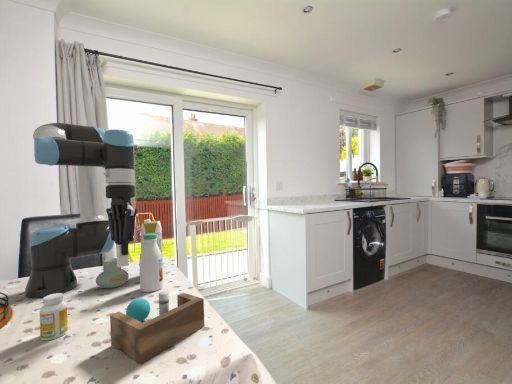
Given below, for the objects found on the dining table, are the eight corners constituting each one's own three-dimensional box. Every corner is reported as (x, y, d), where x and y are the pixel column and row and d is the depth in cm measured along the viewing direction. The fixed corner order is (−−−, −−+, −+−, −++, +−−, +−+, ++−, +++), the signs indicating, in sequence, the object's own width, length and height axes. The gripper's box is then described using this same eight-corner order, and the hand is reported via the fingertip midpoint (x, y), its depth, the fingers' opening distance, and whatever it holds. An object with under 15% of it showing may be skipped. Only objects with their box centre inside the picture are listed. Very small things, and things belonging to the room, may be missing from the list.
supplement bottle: (64, 326, 68) (63, 290, 68) (70, 333, 64) (69, 294, 64) (38, 336, 64) (36, 297, 64) (43, 343, 60) (42, 302, 60)
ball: (134, 310, 65) (132, 331, 66) (155, 300, 70) (153, 320, 71) (122, 299, 68) (121, 319, 69) (143, 291, 73) (142, 310, 74)
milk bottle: (155, 293, 89) (153, 235, 89) (135, 292, 91) (133, 235, 91) (167, 285, 97) (165, 232, 97) (148, 284, 98) (147, 232, 98)
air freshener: (103, 293, 91) (102, 264, 91) (92, 288, 95) (91, 262, 95) (132, 283, 100) (131, 257, 100) (120, 279, 105) (120, 255, 105)
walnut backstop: (111, 345, 59) (110, 315, 59) (174, 314, 73) (173, 289, 73) (140, 364, 52) (139, 329, 52) (204, 325, 66) (203, 298, 66)
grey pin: (157, 326, 66) (156, 293, 66) (165, 322, 68) (164, 290, 68) (163, 329, 65) (162, 295, 65) (171, 325, 67) (170, 292, 67)
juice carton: (144, 273, 112) (142, 218, 112) (163, 271, 114) (161, 217, 114) (141, 280, 103) (139, 220, 103) (162, 278, 105) (160, 219, 105)
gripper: (95, 185, 75) (98, 266, 75) (119, 183, 67) (121, 273, 67) (121, 185, 81) (123, 260, 81) (145, 183, 74) (147, 265, 74)
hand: (122, 265), depth 74 cm, fingers closed
